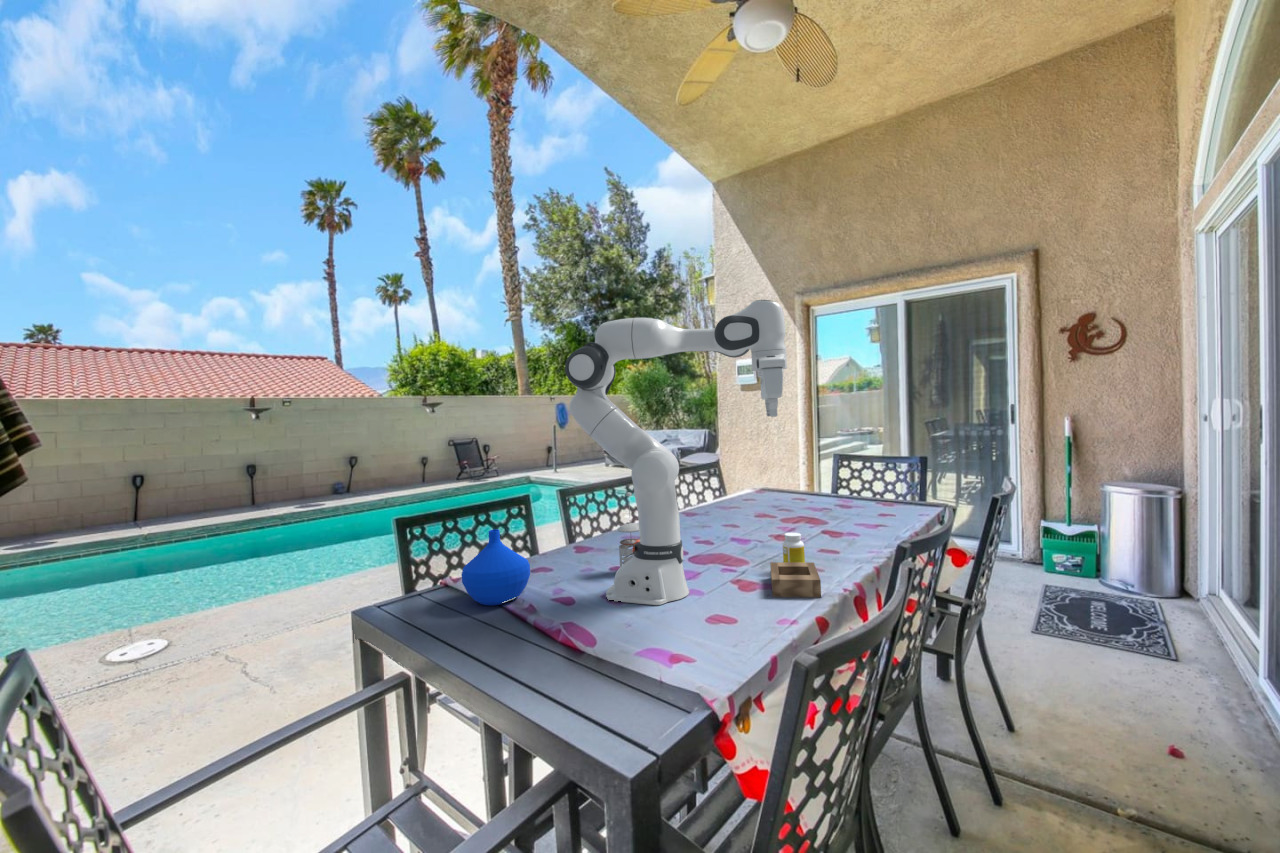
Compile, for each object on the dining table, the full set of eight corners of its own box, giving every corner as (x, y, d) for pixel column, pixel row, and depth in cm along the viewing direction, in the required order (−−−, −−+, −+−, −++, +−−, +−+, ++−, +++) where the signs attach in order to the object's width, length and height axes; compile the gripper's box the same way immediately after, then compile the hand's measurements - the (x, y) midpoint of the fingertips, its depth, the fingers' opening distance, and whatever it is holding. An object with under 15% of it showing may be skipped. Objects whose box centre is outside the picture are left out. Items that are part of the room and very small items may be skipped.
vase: (541, 588, 158) (537, 523, 158) (516, 611, 140) (511, 537, 140) (482, 588, 161) (478, 524, 161) (450, 611, 143) (445, 538, 143)
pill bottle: (809, 570, 162) (807, 533, 162) (799, 575, 158) (797, 537, 158) (789, 567, 167) (788, 531, 166) (779, 572, 162) (778, 535, 162)
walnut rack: (772, 596, 141) (771, 579, 141) (771, 577, 157) (770, 562, 157) (821, 597, 139) (820, 579, 139) (814, 578, 154) (813, 562, 154)
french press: (616, 568, 175) (611, 491, 174) (651, 566, 176) (647, 488, 175) (618, 577, 165) (613, 495, 164) (656, 574, 166) (651, 492, 165)
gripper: (754, 367, 152) (756, 416, 153) (759, 360, 132) (762, 417, 132) (777, 365, 151) (780, 415, 152) (786, 358, 131) (789, 416, 131)
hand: (771, 416), depth 142 cm, fingers open, 8 cm apart
